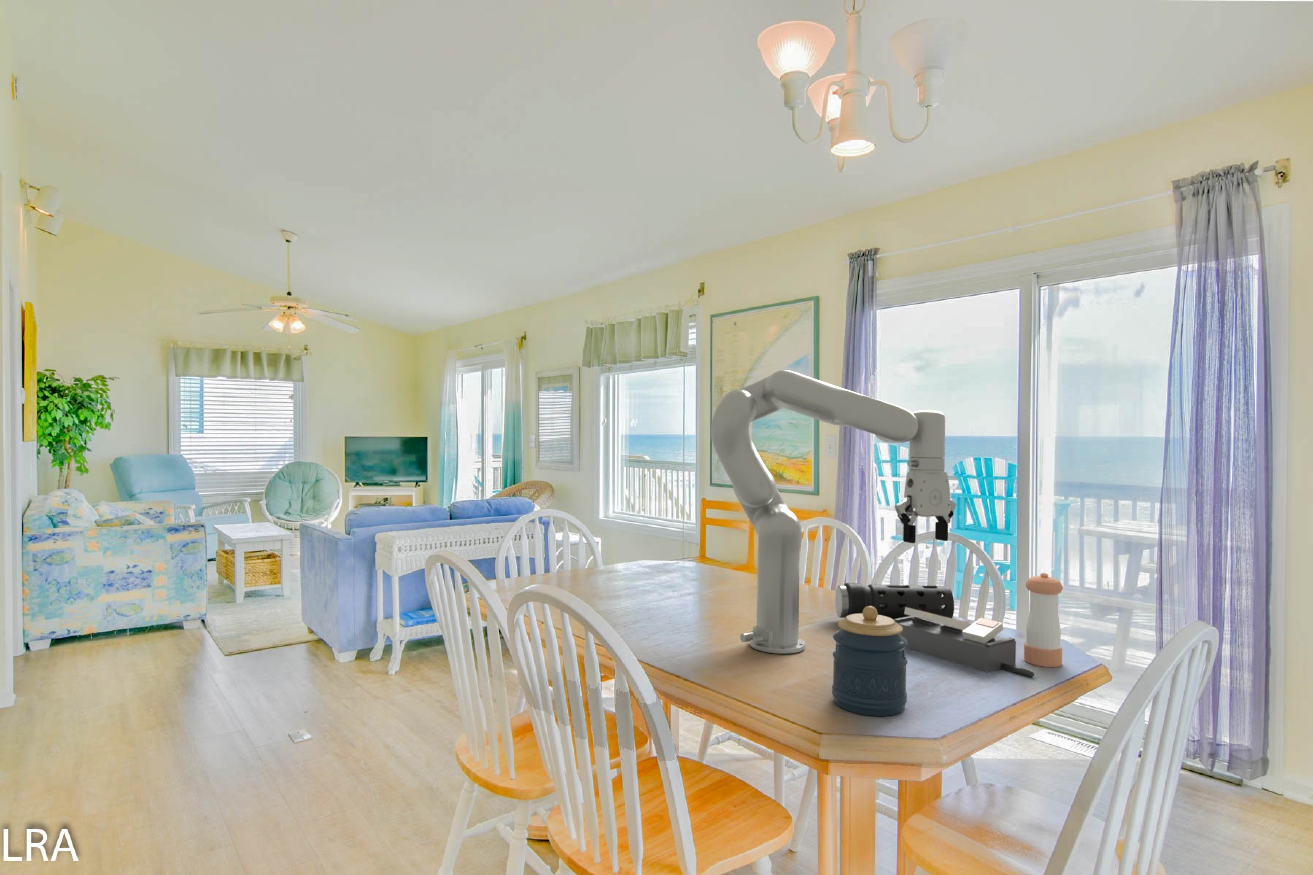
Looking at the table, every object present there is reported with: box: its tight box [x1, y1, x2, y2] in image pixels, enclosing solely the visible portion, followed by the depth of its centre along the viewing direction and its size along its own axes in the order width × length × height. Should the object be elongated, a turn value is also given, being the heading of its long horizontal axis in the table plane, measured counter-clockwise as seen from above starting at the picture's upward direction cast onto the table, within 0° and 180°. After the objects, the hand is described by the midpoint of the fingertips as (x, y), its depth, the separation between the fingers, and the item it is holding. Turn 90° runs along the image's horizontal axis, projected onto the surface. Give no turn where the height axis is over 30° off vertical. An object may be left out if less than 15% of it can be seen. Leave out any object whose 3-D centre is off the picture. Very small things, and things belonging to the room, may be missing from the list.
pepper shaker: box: [1023, 572, 1064, 668], centre depth 157 cm, size 7×7×19 cm
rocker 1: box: [904, 607, 941, 624], centre depth 169 cm, size 7×5×2 cm
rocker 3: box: [962, 617, 1004, 644], centre depth 156 cm, size 7×5×2 cm
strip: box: [894, 616, 1035, 678], centre depth 160 cm, size 10×31×6 cm, turn 33°
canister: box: [831, 606, 908, 717], centre depth 131 cm, size 13×13×18 cm
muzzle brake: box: [834, 582, 955, 620], centre depth 188 cm, size 10×28×10 cm, turn 89°
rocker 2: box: [932, 614, 972, 630], centre depth 163 cm, size 7×5×2 cm
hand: (925, 541), depth 165 cm, fingers open, 9 cm apart
